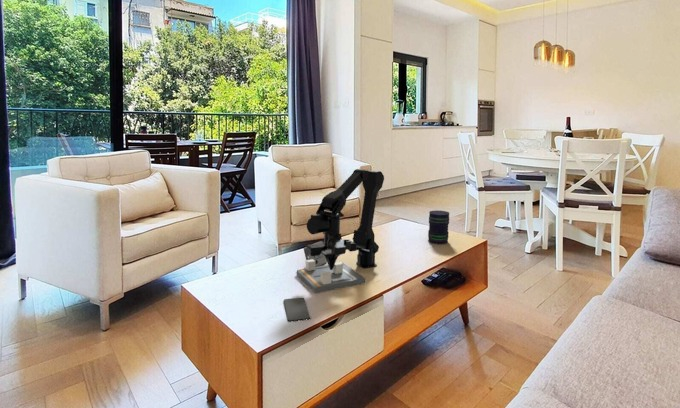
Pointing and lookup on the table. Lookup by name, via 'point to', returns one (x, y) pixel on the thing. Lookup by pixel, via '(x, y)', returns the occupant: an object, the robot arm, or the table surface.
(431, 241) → the storage jar
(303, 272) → the breaker panel
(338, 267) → the handle middle
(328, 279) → the handle
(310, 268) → the handle
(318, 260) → the electrical switch
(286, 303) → the smartphone
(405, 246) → the table surface
